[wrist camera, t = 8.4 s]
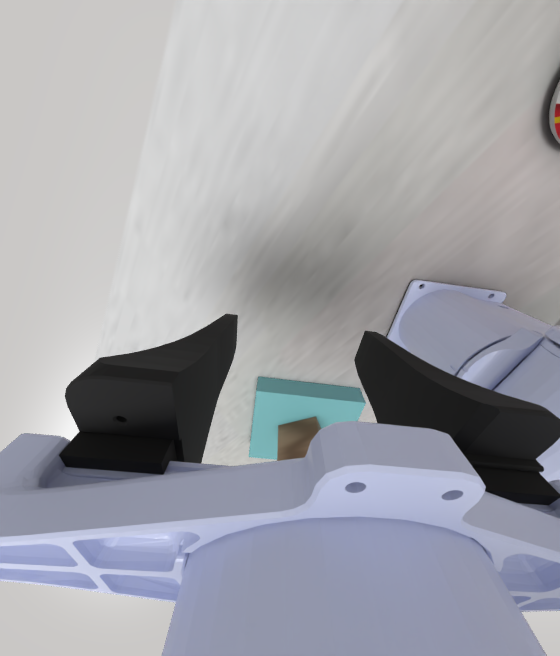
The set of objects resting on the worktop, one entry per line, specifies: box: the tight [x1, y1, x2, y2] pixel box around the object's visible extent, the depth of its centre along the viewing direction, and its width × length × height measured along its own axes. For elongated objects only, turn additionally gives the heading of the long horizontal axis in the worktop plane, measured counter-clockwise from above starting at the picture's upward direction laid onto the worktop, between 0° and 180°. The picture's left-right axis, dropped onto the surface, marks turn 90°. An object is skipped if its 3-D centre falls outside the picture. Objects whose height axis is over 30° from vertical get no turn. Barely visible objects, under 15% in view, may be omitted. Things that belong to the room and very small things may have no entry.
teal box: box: [249, 377, 366, 460], centre depth 30 cm, size 13×13×3 cm
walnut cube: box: [277, 417, 321, 461], centre depth 27 cm, size 5×5×5 cm
